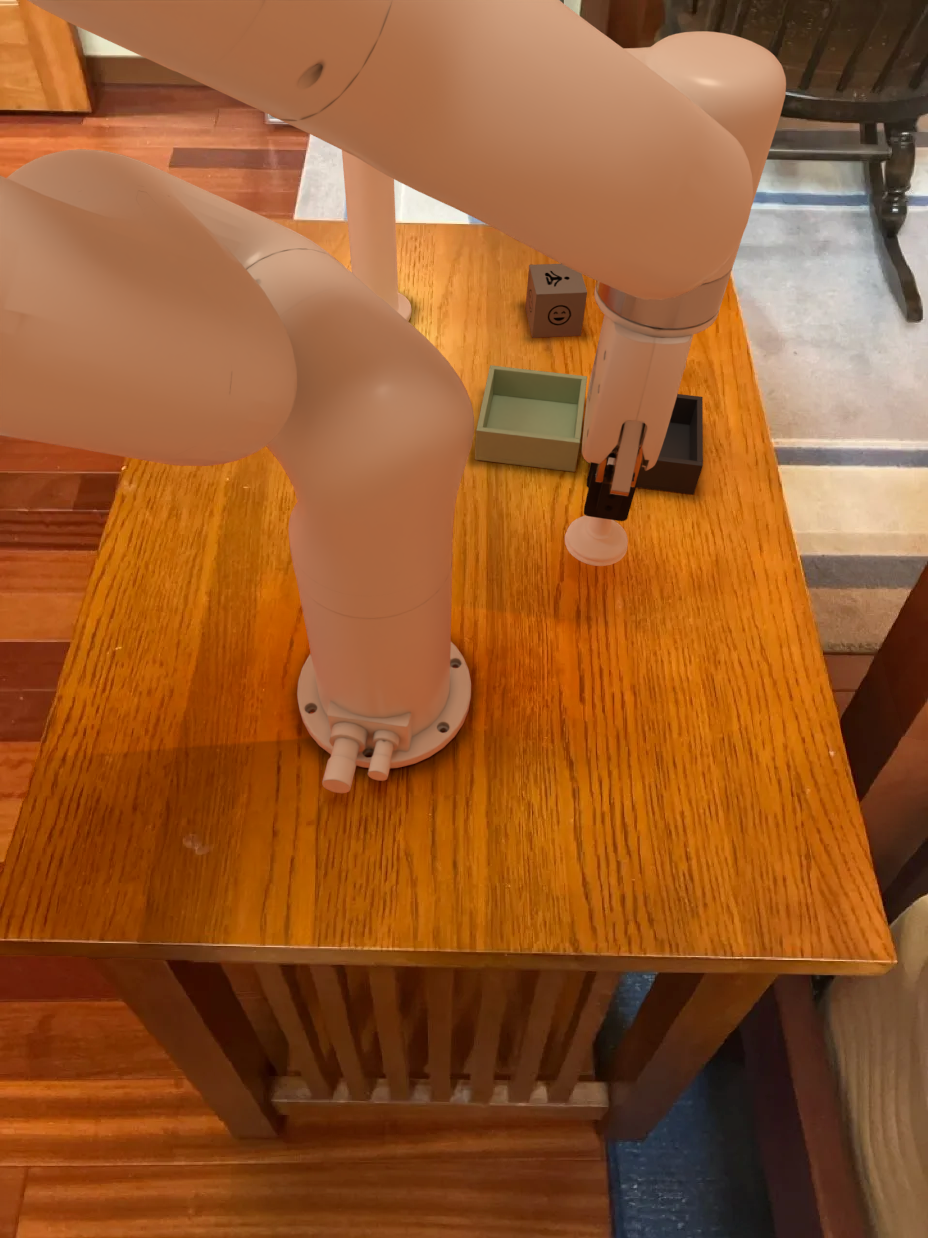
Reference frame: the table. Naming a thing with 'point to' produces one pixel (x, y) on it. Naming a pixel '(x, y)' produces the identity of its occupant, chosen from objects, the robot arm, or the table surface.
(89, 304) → the robot arm
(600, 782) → the table surface
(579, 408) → the sage bin
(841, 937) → the table surface
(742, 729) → the table surface
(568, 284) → the dice cube
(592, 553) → the chess piece
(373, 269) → the candle
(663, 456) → the charcoal bin
